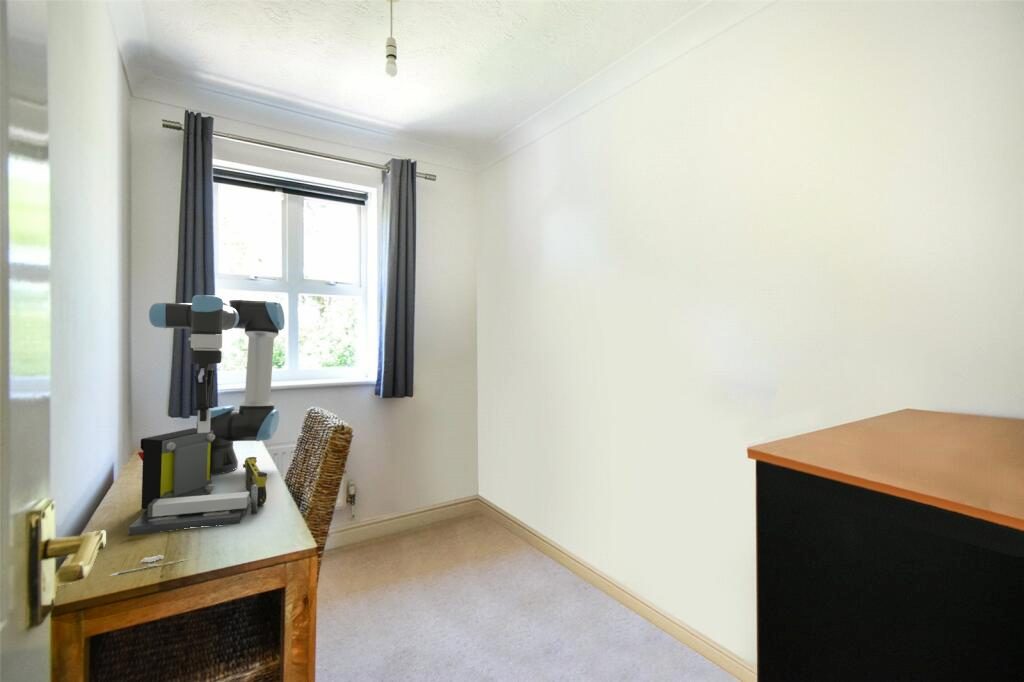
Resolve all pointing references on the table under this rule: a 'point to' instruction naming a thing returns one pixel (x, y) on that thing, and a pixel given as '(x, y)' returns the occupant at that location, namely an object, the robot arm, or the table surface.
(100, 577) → the table surface
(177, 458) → the electrical component
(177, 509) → the light grey rectangular bar
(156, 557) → the picture light
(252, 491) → the label board
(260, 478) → the gaming console
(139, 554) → the table surface
